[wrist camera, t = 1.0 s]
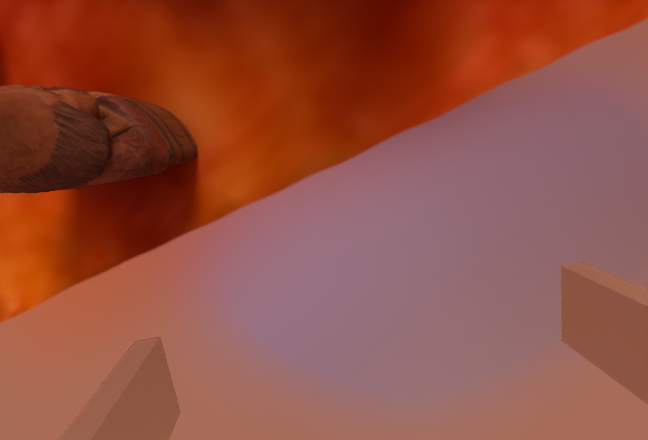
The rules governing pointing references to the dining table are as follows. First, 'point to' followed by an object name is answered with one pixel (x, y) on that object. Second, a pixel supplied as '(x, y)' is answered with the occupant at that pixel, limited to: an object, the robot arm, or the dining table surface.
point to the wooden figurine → (83, 139)
